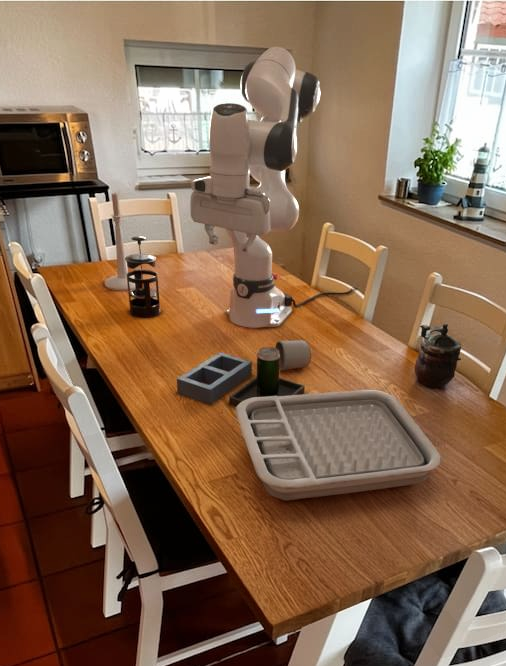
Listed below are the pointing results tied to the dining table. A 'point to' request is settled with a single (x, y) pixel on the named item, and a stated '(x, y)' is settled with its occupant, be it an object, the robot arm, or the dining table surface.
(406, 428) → the dish rack
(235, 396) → the tray
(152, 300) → the french press
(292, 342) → the ceramic mug
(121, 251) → the candlestick
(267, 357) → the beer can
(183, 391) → the frame
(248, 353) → the dining table surface
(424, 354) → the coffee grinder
